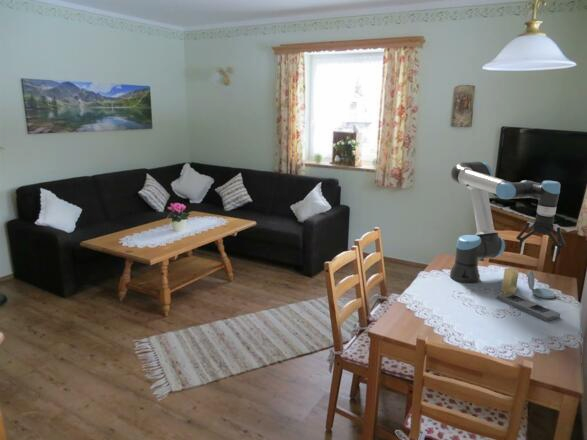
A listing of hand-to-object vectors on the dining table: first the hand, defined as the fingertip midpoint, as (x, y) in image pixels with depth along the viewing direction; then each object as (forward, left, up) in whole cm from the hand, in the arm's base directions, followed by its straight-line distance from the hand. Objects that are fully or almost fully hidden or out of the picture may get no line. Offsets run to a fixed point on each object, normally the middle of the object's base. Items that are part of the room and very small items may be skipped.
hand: (537, 257), depth 204 cm
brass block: (-10, -3, -21) cm, 24 cm away
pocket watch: (0, +10, -22) cm, 24 cm away
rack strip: (+6, -11, -21) cm, 25 cm away
